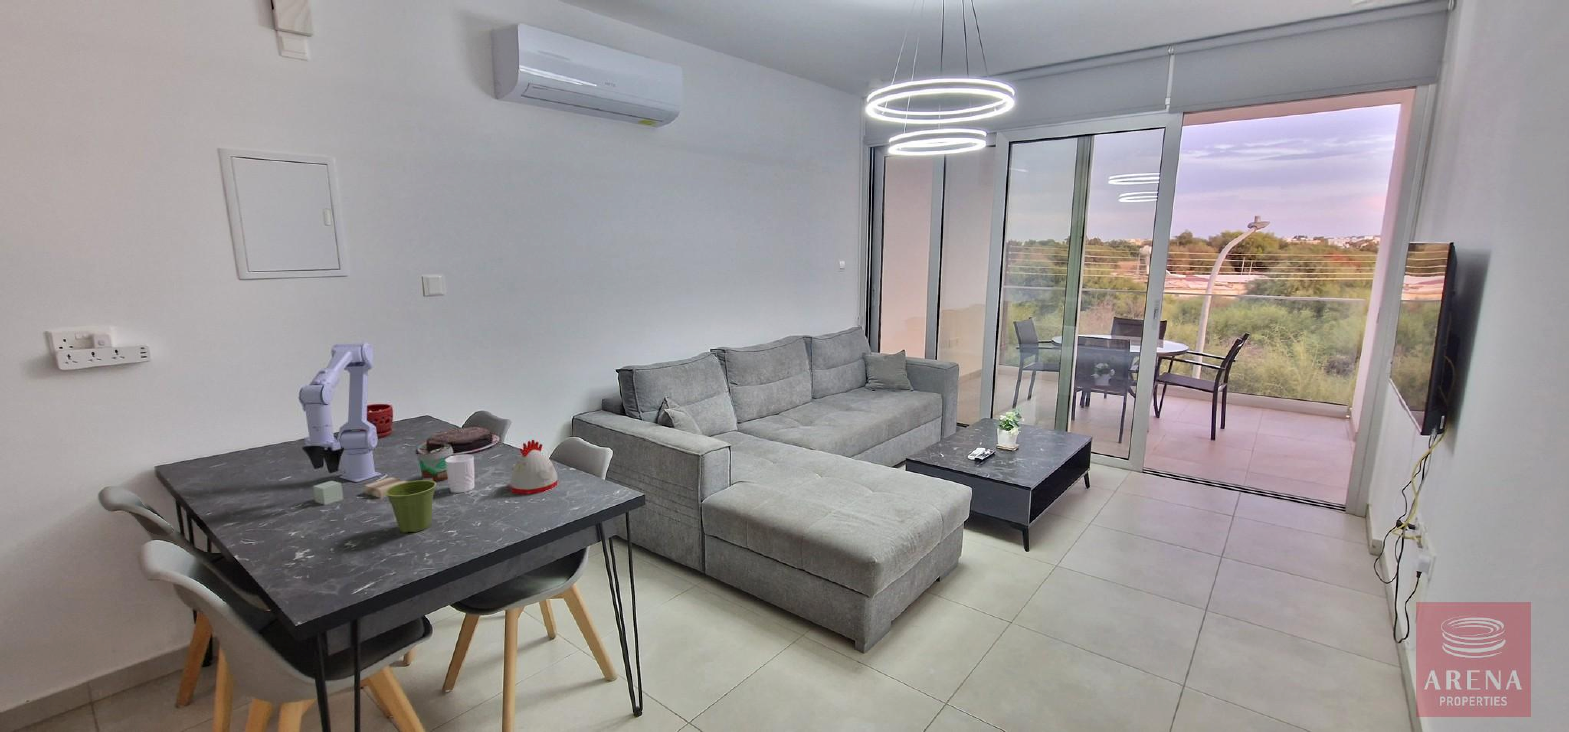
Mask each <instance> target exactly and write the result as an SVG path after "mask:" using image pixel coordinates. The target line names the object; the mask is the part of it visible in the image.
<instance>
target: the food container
mask: <svg viewBox="0 0 1569 732" xmlns="http://www.w3.org/2000/svg"><path fill="white" fill-rule="evenodd" d="M452 453H453V449H452V447H451V446H450V445H449V444H444V447H441V448H439V449H435V450H431V451H430V452H428V453H426V454H421V453H418V454H417V461H418V462H419V466H420V471H421V472H420V473H421V477H422V480H429V481H434V482H436V483H439V482H444V481H447V480H448V476H447V470H446V463H445V459H447V458H449V457H451V454H452Z"/></svg>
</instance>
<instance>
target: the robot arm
mask: <svg viewBox="0 0 1569 732" xmlns="http://www.w3.org/2000/svg"><path fill="white" fill-rule="evenodd" d="M373 365H374V350H373V348H372V345H370V343H369V342H360V343H359V342H358V343H357V342H355V343H352V342H351V343H340V342H339V343H335V344H334V345H333V346H332V348H331V359H330V361H329V363H328V365H327V366H326V367H325V368H321V369H320V370H319V371H318V372H317V374H316V375H315V376H314V377H313V379H312V381H311V382H310V383H309V385H304V386H302V387H301V388H300V390H299V392H298V401H299V403H300V405H301V407H302V410H303V412H305V416H306V423H307V430H308V436H306V437H304V442H305V443H304V444H305V446H302V448H301V449H302V450H303V452H305V453H306V455H307V457H308V459H309V461H310V462H311V464H312V466H313V469H314V470H317V469H323V468H324V463H325V464H326V468H327V472H328V473H330V474H332V473H336V472H339V467H340V462H341V470H342V475H340V476H339V478H341V479H344V480H348V481H351V482H355V483H358V482H362V481H366V480H368V479H372V478H375V477H378V476H381V475H382V473H381V472H378V471H376V469H375V463H374V454H373V452H374V451H373V450H374V449H375V448H376V447H377V445H378V442H379V440H378V439H379V438H378V437H377V433H376V427H375V426H374V425H373V424H371V423H370V422H368V421H367V405H368V391H369V390H368V388H369V387H368V385H369V384H368V383H369V382H368V380H369V371H370V370H371V369H373V367H374V366H373ZM343 370H344V371H347V372H348V373H349V383H348V384H349V387H348V388H349V389H348V392H349V393H348V414H347V415H348V418H347V420H348V421H346V423H344V424H343V425H341V426H340V427H339V431H338V435H337V438H335V435H334V428H333V420H332V413H331V406H330V405H331V402H332V401H333V397H334V393H335V390H334V389H335V388H336V387H337V385H338V384H339V383H340V381H341V376H340V374H341V372H342V371H343ZM359 430H366V431H359Z"/></svg>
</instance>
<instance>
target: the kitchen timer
mask: <svg viewBox="0 0 1569 732" xmlns="http://www.w3.org/2000/svg"><path fill="white" fill-rule="evenodd" d="M542 448H543V443H540V442H539V441H535V439H531V441H530V440H527V444H526V443H524V442H523V443H522V448H520V447H519V451H520V453H521V455H520V457H518V459H516V462H515V463H514V464H513V465H512V466H511V470H512V472H511V476H510V479H509V480H510V481H509V487H510V489H509V490H510V491H511V492H512V493H514V494H518V495H534V494H533V493H536V494H539V493H538V492H541V493H545V492H547V491H546V490H548V491H550V490H549V489H551V490H553V489H555V488H556V487H557V486H558V484H557V482H558V483H559V480H558V474H557V471H556V469H555V466H554V465H553V464H554V463H552V461H551V459H550V458H549V457H548V455H546V454H545V453H543V452H542ZM556 485H557V486H556ZM555 486H556V487H555ZM554 487H555V488H554ZM552 488H553V489H552ZM544 491H545V492H544Z"/></svg>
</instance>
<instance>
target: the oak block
mask: <svg viewBox="0 0 1569 732" xmlns="http://www.w3.org/2000/svg"><path fill="white" fill-rule="evenodd" d="M405 482H408V481H406V480H403V479H399V478H394V477H388V478H384V479H382V480H378V481H375V482H374V481H373V482H372V483H367V484H365V485H364V493H365V494H366V495H368V496H369V495H370V496H372V497H376V498H379V499H383V498H386V497H388V496H387V495H386V494H385V491H386V490H387V489H388V488H390V487H392V486H394V485H397V484H401V483H405Z"/></svg>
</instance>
